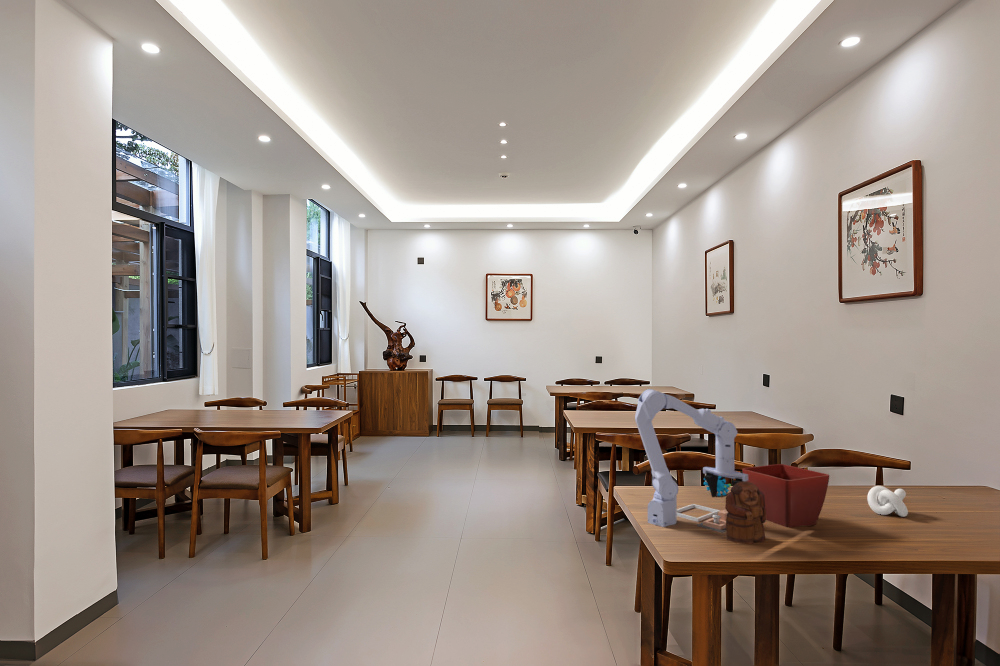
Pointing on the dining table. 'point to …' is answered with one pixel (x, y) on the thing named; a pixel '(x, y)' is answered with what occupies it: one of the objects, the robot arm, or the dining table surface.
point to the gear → (720, 486)
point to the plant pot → (790, 493)
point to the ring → (721, 521)
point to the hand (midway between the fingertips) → (725, 499)
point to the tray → (714, 511)
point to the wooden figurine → (745, 514)
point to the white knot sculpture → (887, 501)
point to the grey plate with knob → (716, 521)
